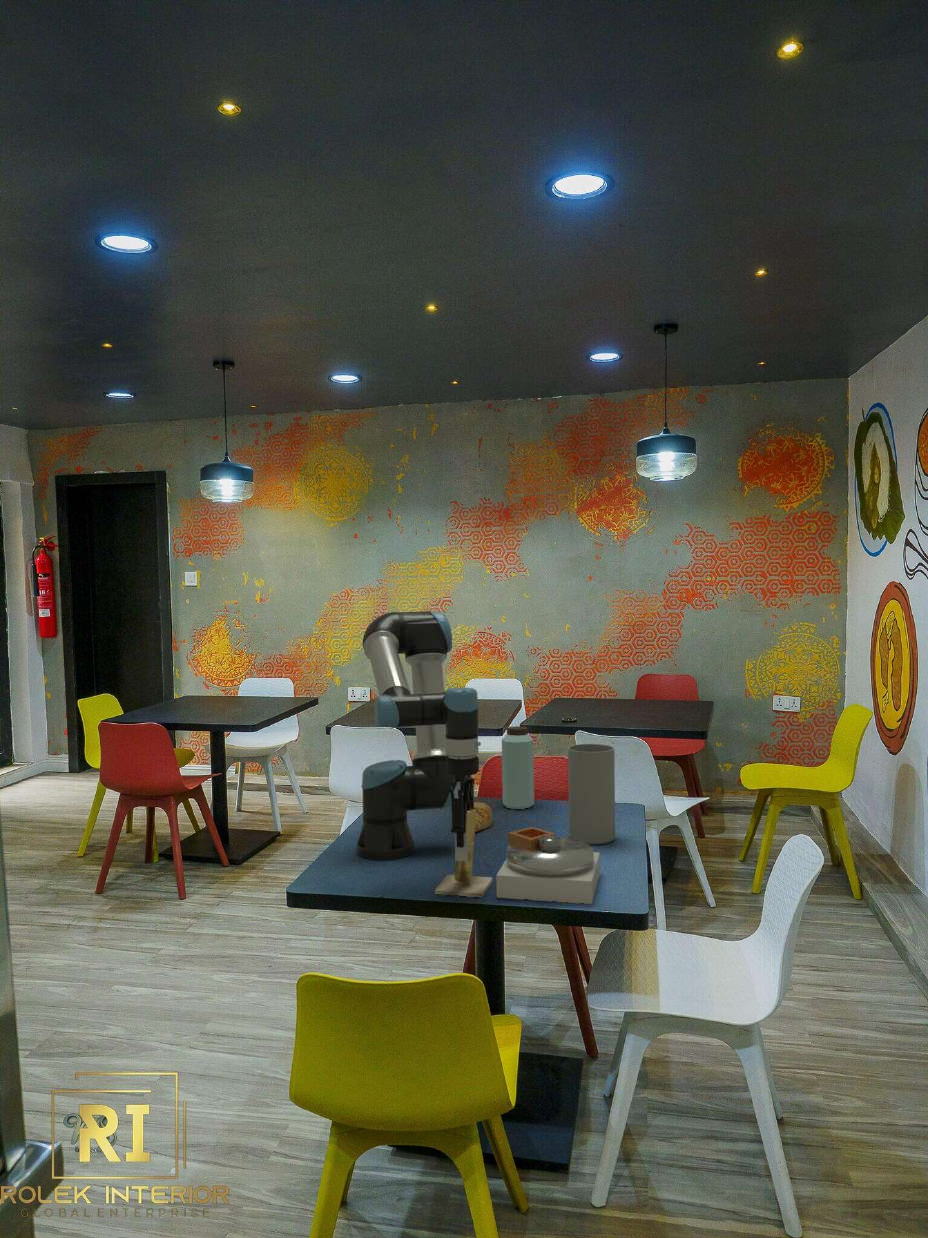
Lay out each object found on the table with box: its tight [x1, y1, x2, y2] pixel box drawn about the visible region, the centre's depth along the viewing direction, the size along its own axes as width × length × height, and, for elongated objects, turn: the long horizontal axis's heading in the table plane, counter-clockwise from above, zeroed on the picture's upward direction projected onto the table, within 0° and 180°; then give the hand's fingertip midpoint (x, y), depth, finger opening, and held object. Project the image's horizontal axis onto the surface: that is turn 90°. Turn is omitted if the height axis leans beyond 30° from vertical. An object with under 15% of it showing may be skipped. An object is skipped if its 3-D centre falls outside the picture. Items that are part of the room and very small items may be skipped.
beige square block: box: [495, 851, 601, 905], centre depth 197 cm, size 21×21×5 cm
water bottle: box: [501, 725, 535, 810], centre depth 270 cm, size 10×10×25 cm
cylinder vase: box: [567, 743, 616, 846], centre depth 233 cm, size 12×12×25 cm
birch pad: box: [434, 874, 494, 899], centre depth 196 cm, size 11×11×1 cm
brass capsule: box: [453, 808, 476, 882], centre depth 196 cm, size 4×4×16 cm
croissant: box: [474, 801, 493, 833], centre depth 249 cm, size 21×10×8 cm, turn 169°
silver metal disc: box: [506, 826, 595, 876], centre depth 197 cm, size 20×20×6 cm
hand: (464, 857), depth 196 cm, fingers closed on brass capsule, 4 cm apart
